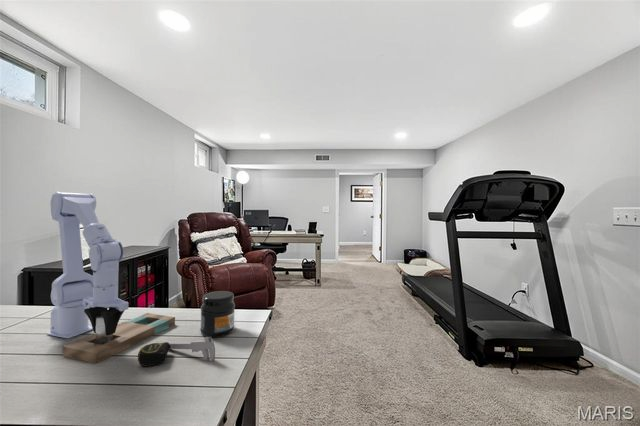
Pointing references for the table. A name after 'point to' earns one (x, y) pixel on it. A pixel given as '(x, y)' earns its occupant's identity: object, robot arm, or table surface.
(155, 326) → the board
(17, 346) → the table surface
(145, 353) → the tape measure
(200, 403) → the table surface
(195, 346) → the caliper
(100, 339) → the metal pin
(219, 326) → the supplement container
